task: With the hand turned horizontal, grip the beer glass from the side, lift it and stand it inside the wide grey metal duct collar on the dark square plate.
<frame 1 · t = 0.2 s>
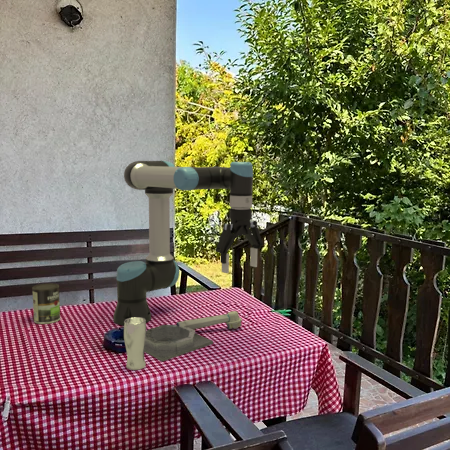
hand: (239, 269, 156), 28 cm above the table, tool pointing down, fingers open, 13 cm apart
duct collar: (169, 342, 163), on the table
beige knobbed rod: (209, 330, 175), on the table, touching duct collar
beer glass: (135, 366, 144), on the table
coffee can: (47, 320, 186), on the table
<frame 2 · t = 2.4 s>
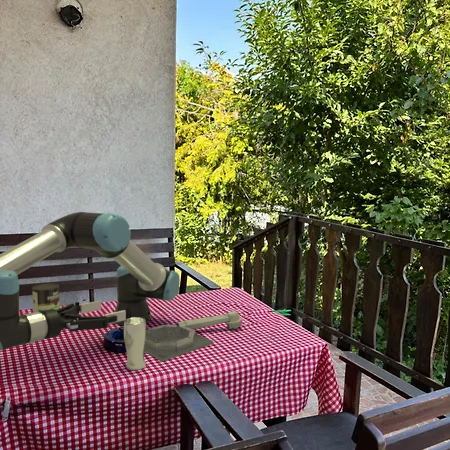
hand: (112, 309, 135), 21 cm above the table, tool horizontal, fingers open, 13 cm apart
nothing on the table moved.
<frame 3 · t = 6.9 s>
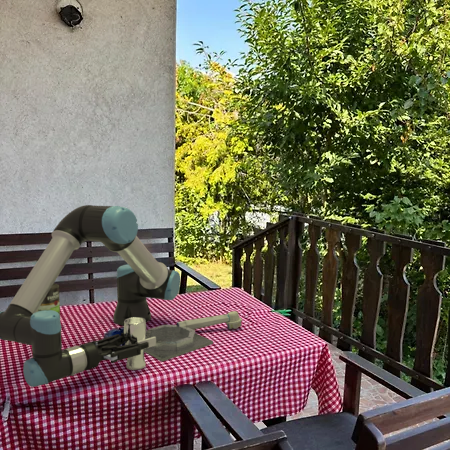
hand: (148, 337, 147), 8 cm above the table, tool horizontal, fingers closed on beer glass, 6 cm apart
beer glass: (136, 366, 144), on the table, touching gripper
everything else where it was.
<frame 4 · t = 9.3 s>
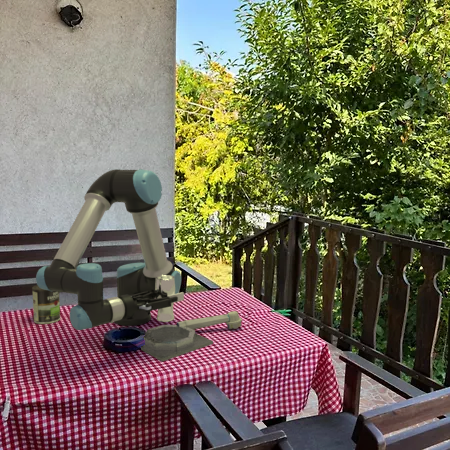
hand: (177, 294, 162), 18 cm above the table, tool horizontal, fingers closed on beer glass, 6 cm apart
beer glass: (165, 319, 159), point 10 cm above the table, touching gripper
everything else where it was.
when the fingers open (10 cm above the table, at t = 11.8 s): beer glass moves 2 cm, resting on duct collar.
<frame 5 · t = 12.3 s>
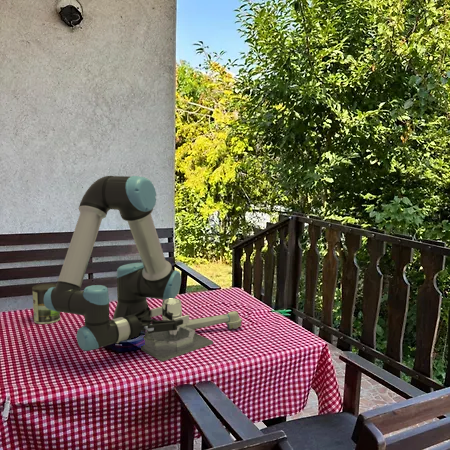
hand: (177, 313, 164), 10 cm above the table, tool horizontal, fingers open, 13 cm apart
beer glass: (172, 342, 161), point 1 cm above the table, touching duct collar
everything else where it was.
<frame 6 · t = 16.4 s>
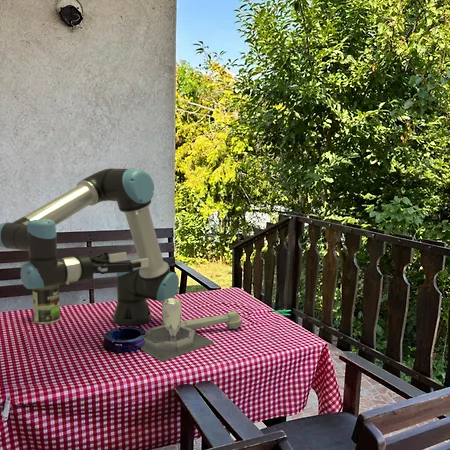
hand: (136, 259, 152), 32 cm above the table, tool horizontal, fingers open, 13 cm apart
nothing on the table moved.
at the end: beer glass 1.9 cm from the duct collar (horizontally); beer glass tilted 0°; the gripper is holding nothing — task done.
